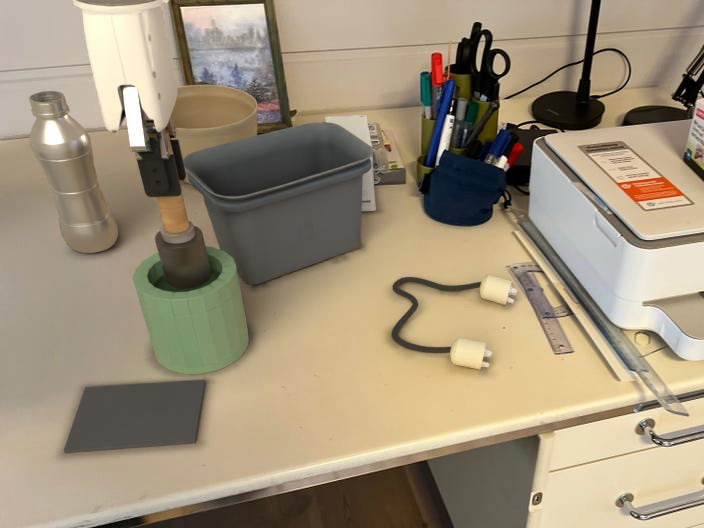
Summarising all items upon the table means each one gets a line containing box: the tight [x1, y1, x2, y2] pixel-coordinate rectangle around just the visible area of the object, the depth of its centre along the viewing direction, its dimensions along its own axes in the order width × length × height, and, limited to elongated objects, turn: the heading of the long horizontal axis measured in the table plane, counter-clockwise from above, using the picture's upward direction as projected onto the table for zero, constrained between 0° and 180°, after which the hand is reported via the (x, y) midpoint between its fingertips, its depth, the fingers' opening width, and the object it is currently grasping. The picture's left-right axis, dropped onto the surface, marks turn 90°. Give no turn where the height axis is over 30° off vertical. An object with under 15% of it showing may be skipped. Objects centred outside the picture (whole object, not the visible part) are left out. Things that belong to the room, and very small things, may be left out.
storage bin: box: [183, 121, 375, 286], centre depth 96 cm, size 21×16×14 cm
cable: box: [391, 274, 518, 370], centre depth 90 cm, size 16×16×4 cm
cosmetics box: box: [324, 114, 377, 212], centre depth 110 cm, size 10×6×10 cm, turn 11°
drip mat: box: [63, 379, 206, 454], centre depth 76 cm, size 12×9×1 cm
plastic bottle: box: [28, 90, 119, 254], centre depth 93 cm, size 6×7×20 cm
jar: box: [132, 245, 250, 375], centre depth 82 cm, size 10×10×10 cm
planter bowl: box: [171, 84, 259, 185], centre depth 113 cm, size 16×16×11 cm
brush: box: [147, 128, 211, 289], centre depth 74 cm, size 5×5×16 cm
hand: (166, 185), depth 72 cm, fingers closed on brush, 2 cm apart
